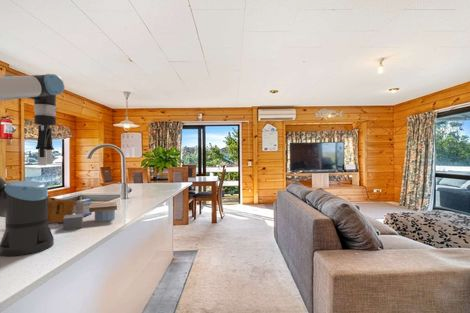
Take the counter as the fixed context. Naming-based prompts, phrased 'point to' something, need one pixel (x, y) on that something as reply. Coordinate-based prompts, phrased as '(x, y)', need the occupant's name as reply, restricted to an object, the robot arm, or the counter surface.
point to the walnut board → (103, 207)
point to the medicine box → (83, 207)
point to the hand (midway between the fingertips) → (45, 164)
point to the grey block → (72, 221)
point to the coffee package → (59, 209)
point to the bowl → (104, 215)
